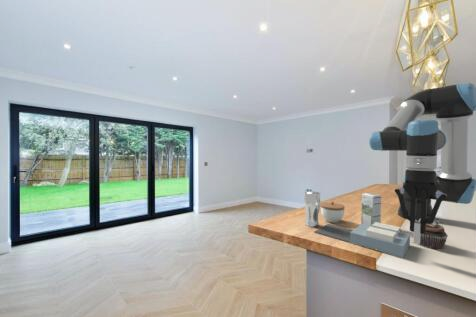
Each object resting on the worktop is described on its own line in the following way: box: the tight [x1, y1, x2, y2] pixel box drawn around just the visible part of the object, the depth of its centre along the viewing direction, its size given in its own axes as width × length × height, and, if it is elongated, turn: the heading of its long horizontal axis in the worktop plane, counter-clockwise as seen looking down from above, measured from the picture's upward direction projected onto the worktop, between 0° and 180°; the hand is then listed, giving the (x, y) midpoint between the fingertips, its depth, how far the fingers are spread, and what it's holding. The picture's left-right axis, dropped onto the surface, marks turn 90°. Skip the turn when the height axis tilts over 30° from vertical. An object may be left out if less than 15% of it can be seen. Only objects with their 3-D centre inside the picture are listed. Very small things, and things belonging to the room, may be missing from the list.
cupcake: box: [417, 217, 448, 250], centre depth 81 cm, size 10×10×10 cm
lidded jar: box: [320, 201, 346, 224], centre depth 107 cm, size 11×11×9 cm
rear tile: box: [372, 222, 401, 236], centre depth 83 cm, size 6×8×2 cm
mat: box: [313, 223, 354, 243], centre depth 91 cm, size 14×14×1 cm
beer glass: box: [304, 190, 322, 228], centre depth 100 cm, size 7×7×15 cm
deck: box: [349, 223, 411, 259], centre depth 81 cm, size 14×16×4 cm
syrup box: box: [360, 192, 382, 226], centre depth 101 cm, size 6×6×14 cm
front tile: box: [366, 226, 396, 242], centre depth 77 cm, size 6×8×2 cm
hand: (416, 242), depth 70 cm, fingers closed
